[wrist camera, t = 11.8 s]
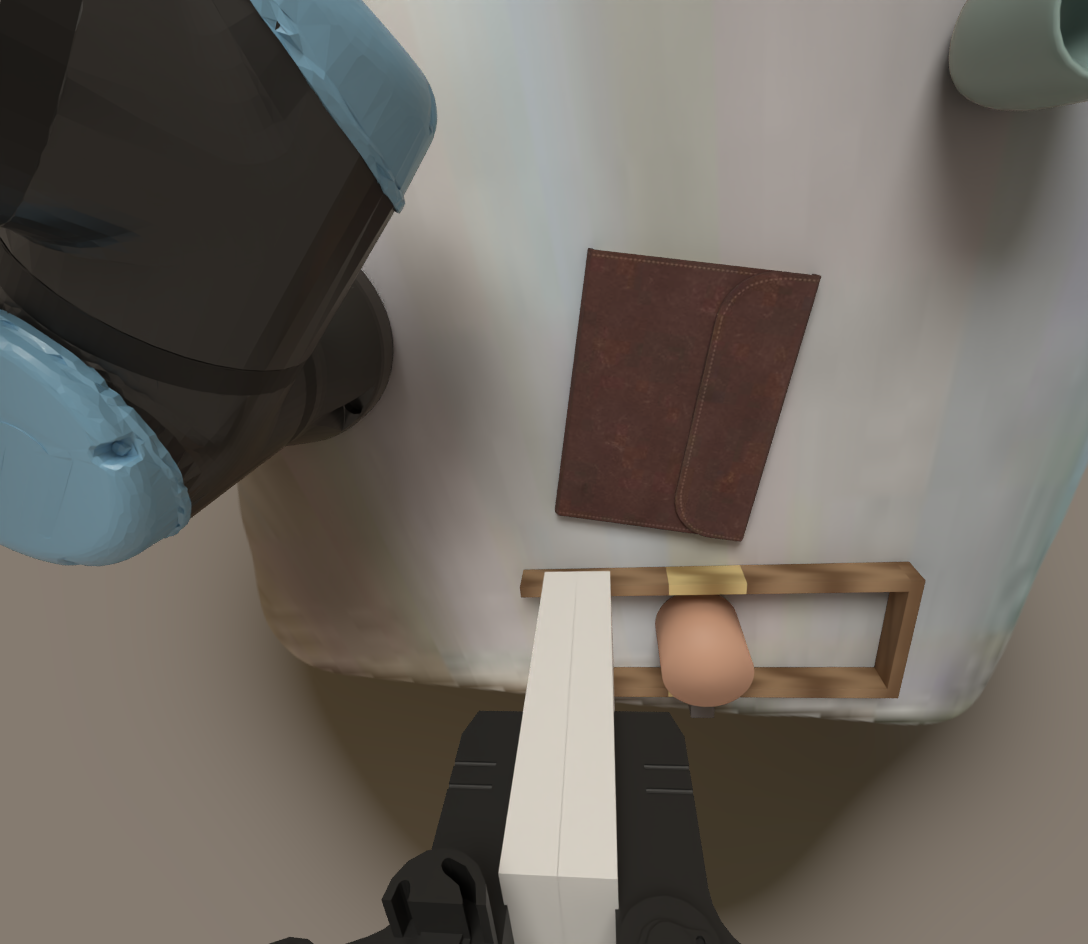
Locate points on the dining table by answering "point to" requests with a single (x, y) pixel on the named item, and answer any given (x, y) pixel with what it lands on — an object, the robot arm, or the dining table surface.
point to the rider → (702, 650)
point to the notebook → (677, 390)
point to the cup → (1021, 53)
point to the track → (778, 580)
